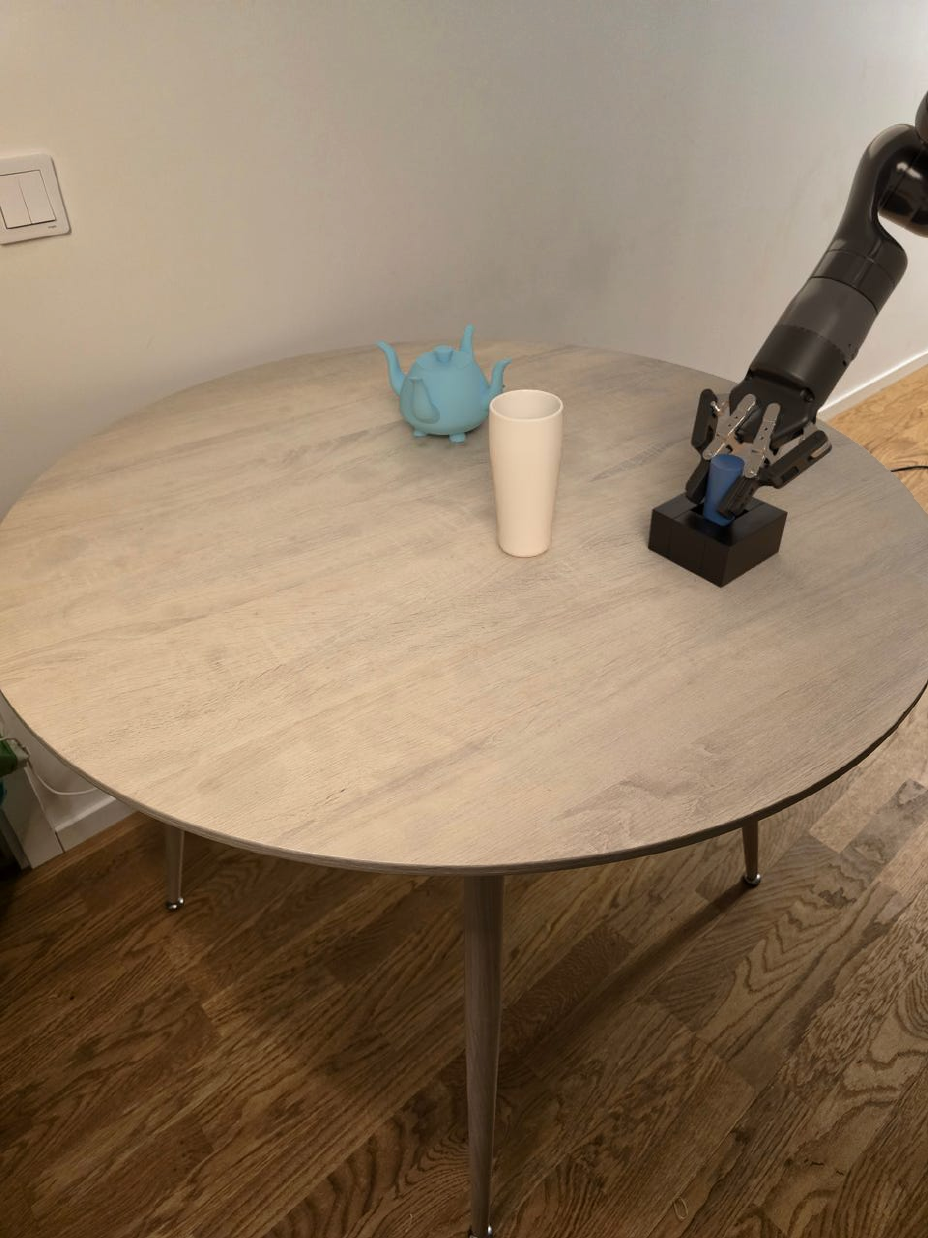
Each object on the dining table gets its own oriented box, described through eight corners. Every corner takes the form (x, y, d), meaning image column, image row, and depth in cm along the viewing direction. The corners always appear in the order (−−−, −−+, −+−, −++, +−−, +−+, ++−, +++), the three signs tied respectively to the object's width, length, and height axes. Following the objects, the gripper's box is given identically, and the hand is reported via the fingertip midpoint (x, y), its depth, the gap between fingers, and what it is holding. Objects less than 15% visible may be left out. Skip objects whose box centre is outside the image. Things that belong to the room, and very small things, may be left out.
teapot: (414, 460, 101) (407, 377, 95) (380, 415, 111) (372, 337, 104) (514, 438, 104) (515, 357, 98) (474, 396, 114) (472, 320, 108)
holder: (778, 551, 84) (788, 512, 81) (721, 588, 79) (729, 547, 77) (704, 516, 89) (711, 477, 86) (647, 548, 85) (651, 509, 82)
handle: (735, 547, 83) (750, 468, 77) (703, 549, 82) (716, 470, 77) (724, 530, 85) (739, 452, 80) (693, 532, 85) (706, 454, 80)
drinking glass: (523, 572, 82) (525, 428, 73) (476, 544, 86) (472, 404, 77) (572, 545, 86) (580, 403, 76) (524, 519, 90) (526, 382, 81)
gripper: (734, 303, 80) (632, 465, 81) (875, 344, 71) (759, 524, 73) (758, 344, 85) (663, 495, 87) (892, 387, 77) (784, 553, 79)
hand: (707, 507), depth 80 cm, fingers closed on handle, 3 cm apart
